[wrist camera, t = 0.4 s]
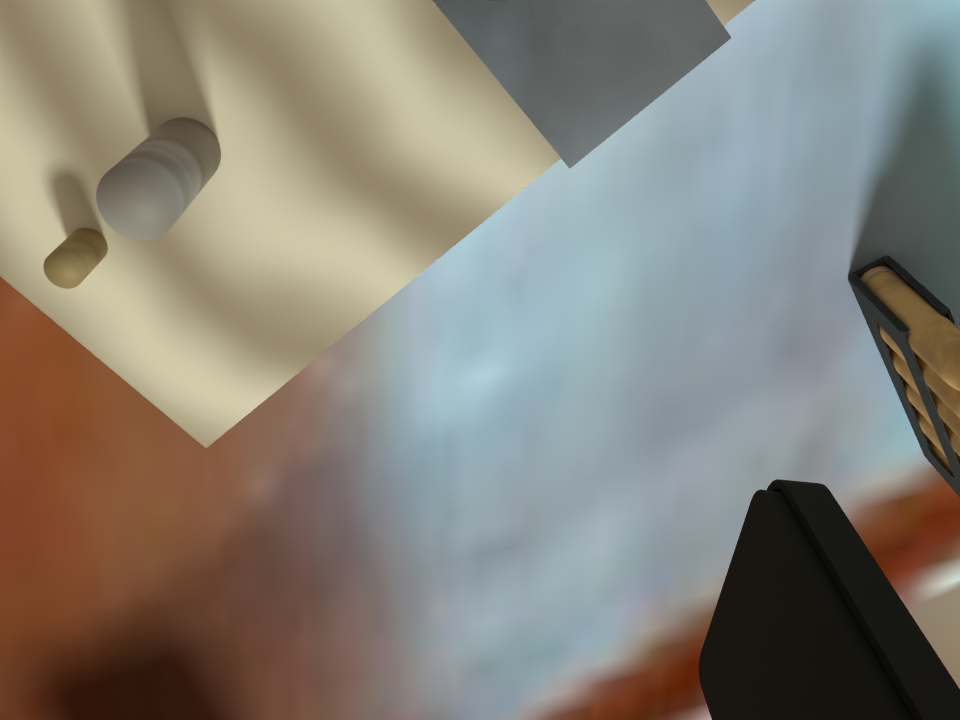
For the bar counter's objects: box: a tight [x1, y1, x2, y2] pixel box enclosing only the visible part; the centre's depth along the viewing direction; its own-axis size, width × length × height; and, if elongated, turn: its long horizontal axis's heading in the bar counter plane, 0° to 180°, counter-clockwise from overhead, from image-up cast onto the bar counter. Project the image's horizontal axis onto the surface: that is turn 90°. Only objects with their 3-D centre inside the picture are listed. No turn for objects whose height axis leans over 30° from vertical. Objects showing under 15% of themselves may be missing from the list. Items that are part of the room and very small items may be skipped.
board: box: [0, 0, 755, 448], centre depth 30 cm, size 28×18×8 cm, turn 130°
